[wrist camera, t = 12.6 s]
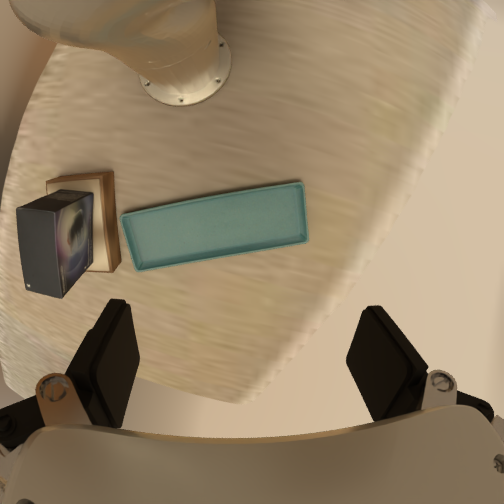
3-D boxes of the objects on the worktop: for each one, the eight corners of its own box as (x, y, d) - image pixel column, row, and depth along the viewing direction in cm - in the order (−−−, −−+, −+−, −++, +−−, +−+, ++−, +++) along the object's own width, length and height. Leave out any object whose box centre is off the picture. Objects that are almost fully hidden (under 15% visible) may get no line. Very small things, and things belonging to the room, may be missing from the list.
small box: (96, 264, 36) (64, 302, 26) (60, 257, 35) (24, 291, 25) (96, 191, 32) (55, 212, 22) (58, 188, 31) (13, 207, 21)
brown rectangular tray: (59, 176, 34) (44, 181, 30) (113, 171, 35) (101, 175, 31) (70, 260, 40) (58, 271, 36) (121, 261, 41) (112, 273, 37)
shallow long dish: (300, 179, 39) (305, 181, 37) (305, 238, 42) (310, 244, 40) (123, 210, 38) (118, 215, 36) (139, 266, 42) (135, 273, 40)
